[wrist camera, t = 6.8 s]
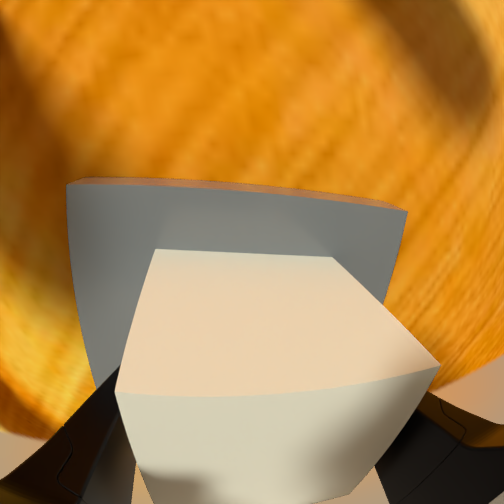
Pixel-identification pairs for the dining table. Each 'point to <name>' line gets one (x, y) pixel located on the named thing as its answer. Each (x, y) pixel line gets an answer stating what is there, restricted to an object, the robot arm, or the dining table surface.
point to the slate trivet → (207, 240)
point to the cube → (263, 379)
